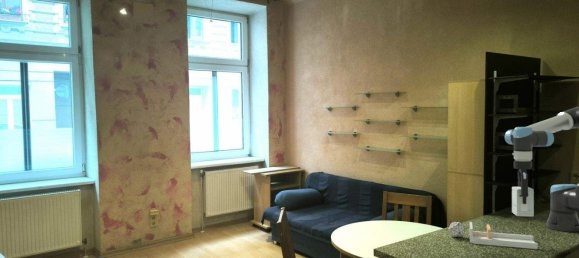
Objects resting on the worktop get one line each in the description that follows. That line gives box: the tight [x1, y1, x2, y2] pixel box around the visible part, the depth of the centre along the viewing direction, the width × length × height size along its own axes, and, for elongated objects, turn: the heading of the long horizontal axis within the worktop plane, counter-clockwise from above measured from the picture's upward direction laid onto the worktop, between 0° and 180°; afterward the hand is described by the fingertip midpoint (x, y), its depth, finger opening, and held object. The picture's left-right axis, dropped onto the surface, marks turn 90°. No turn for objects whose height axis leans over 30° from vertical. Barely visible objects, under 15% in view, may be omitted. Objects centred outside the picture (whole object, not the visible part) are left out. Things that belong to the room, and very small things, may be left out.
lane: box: [469, 221, 539, 250], centre depth 201 cm, size 28×13×7 cm, turn 68°
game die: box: [446, 220, 468, 239], centre depth 210 cm, size 9×8×10 cm
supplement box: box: [511, 186, 535, 217], centre depth 197 cm, size 7×7×13 cm
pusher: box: [486, 224, 492, 239], centre depth 203 cm, size 1×10×6 cm, turn 158°
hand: (522, 208), depth 197 cm, fingers closed on supplement box, 8 cm apart
